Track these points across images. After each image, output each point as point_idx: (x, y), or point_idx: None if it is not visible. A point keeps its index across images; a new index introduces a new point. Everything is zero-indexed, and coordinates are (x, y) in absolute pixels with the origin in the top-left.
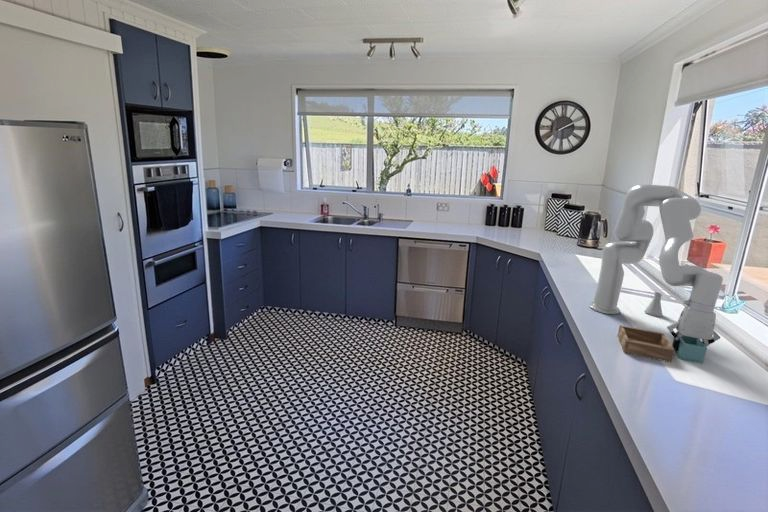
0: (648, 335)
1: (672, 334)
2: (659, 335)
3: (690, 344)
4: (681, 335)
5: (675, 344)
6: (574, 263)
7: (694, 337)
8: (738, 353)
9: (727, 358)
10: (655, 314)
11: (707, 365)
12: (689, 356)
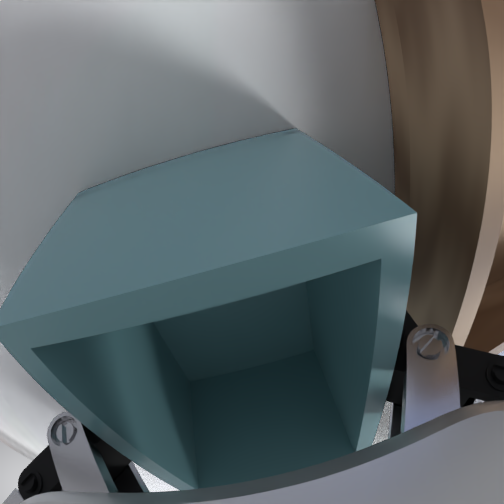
0: (492, 316)
1: (497, 361)
2: None
3: (278, 271)
4: (427, 415)
5: None
6: None
7: (244, 493)
8: (35, 444)
9: (23, 393)
10: None
11: (39, 182)
12: (208, 163)
